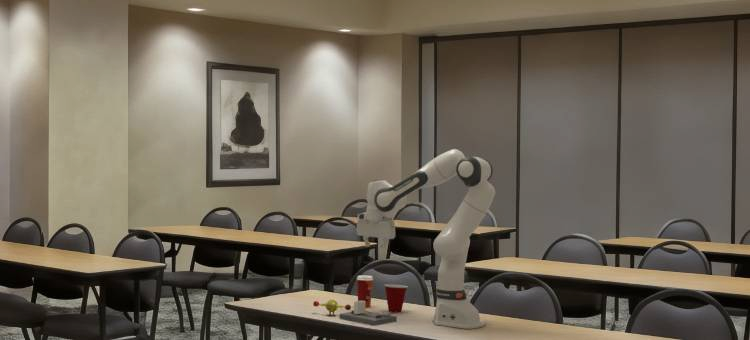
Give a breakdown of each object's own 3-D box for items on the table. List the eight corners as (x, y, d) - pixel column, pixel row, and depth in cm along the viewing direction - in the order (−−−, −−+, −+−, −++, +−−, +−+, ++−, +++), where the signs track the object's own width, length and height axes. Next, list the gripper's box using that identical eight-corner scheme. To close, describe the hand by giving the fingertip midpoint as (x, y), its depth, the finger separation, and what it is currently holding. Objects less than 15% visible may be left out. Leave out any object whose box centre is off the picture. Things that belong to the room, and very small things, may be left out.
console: (396, 321, 401) (396, 312, 401) (374, 325, 391) (374, 316, 390) (361, 314, 414) (361, 306, 414) (339, 318, 404) (339, 310, 404)
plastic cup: (411, 311, 427) (412, 284, 426) (399, 314, 418) (399, 287, 417) (391, 308, 433) (392, 282, 432) (378, 311, 424) (379, 284, 423)
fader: (365, 312, 405) (365, 300, 405) (357, 314, 402) (357, 302, 402) (361, 312, 407) (362, 300, 407) (353, 313, 403) (354, 301, 403)
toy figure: (310, 314, 412) (310, 298, 412) (316, 312, 417) (316, 296, 417) (347, 318, 405) (347, 302, 404) (352, 316, 410) (353, 300, 409)
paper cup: (372, 308, 431) (373, 277, 431) (355, 307, 431) (356, 277, 431) (372, 305, 439) (373, 275, 438) (356, 305, 439) (357, 274, 439)
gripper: (398, 217, 414) (397, 249, 415) (364, 214, 428) (363, 244, 428) (389, 218, 410) (388, 250, 410) (354, 214, 423) (353, 245, 424)
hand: (375, 247), depth 419 cm, fingers open, 8 cm apart
